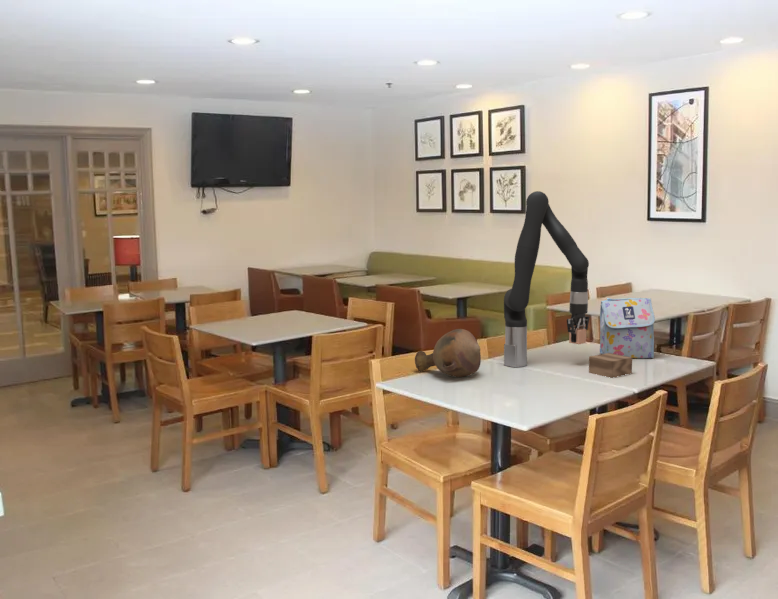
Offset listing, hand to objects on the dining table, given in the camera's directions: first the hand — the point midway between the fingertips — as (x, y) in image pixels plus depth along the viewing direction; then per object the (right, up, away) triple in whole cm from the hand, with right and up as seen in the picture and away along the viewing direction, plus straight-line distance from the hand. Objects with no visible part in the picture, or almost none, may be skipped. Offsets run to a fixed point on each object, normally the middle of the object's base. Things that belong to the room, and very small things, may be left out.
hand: (577, 341), depth 331 cm
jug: (-56, -14, -10) cm, 59 cm away
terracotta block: (0, -1, 0) cm, 1 cm away
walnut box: (+10, -13, -14) cm, 21 cm away
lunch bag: (+26, -8, +17) cm, 32 cm away
